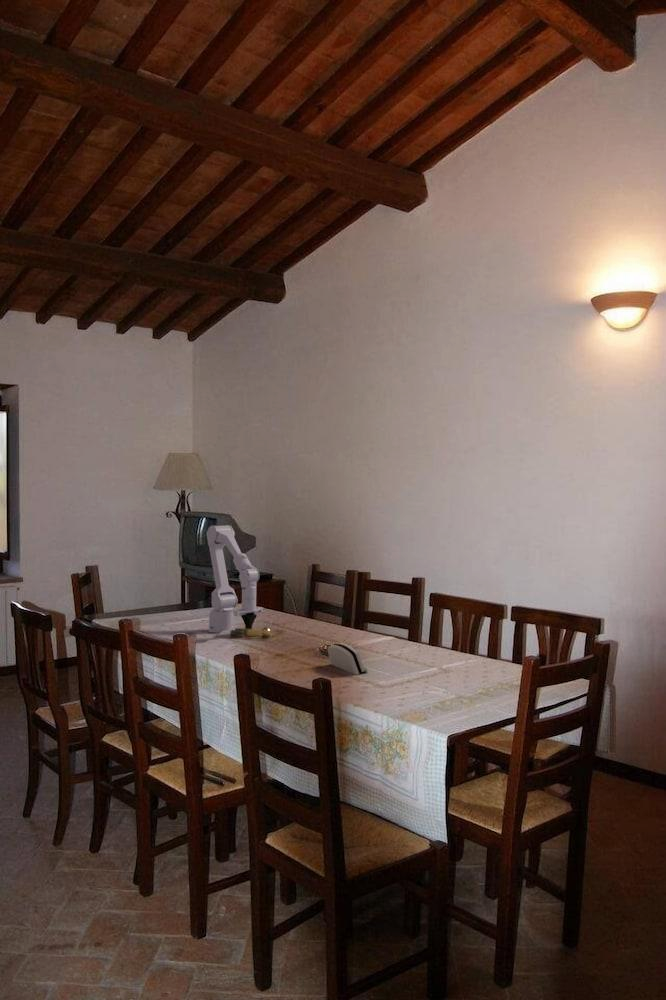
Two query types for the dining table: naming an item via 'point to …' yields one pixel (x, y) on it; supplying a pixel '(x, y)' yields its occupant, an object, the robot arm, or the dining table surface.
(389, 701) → the dining table surface
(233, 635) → the door board
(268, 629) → the swing bar
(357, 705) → the dining table surface
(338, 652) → the grey half-round piece
